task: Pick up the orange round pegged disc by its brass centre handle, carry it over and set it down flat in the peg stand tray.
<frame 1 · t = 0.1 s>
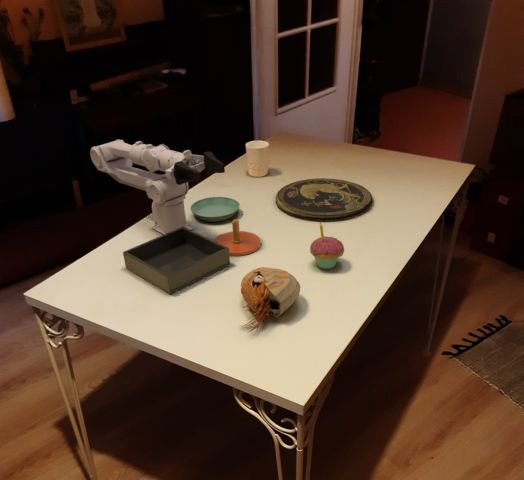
hand: (211, 172, 138), 22 cm above the table, tool horizontal, fingers open, 7 cm apart
orange round pegged disc: (236, 244, 154), on the table
white cup: (258, 174, 196), on the table
nautilus shell: (263, 311, 129), on the table
peg stand tray: (178, 266, 146), on the table
saucer: (215, 215, 170), on the table
decorative plate: (323, 201, 176), on the table
cupcake: (326, 264, 145), on the table
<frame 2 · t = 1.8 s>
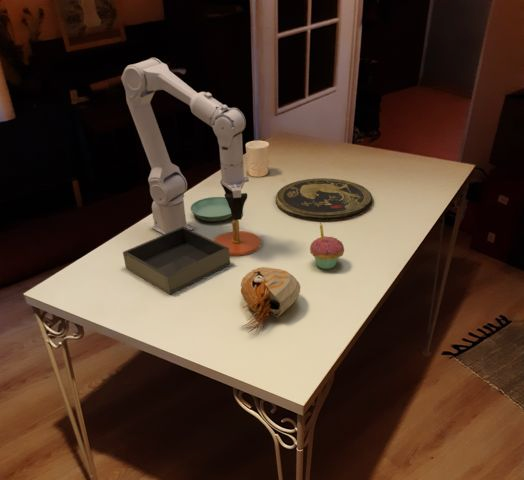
hand: (235, 213, 149), 9 cm above the table, tool pointing down, fingers open, 7 cm apart
nothing on the table moved.
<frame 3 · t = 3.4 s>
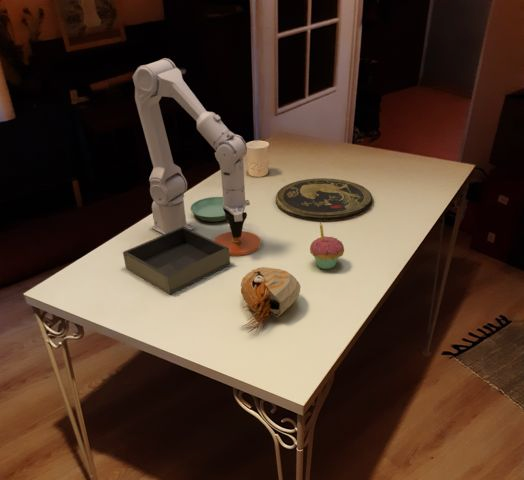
hand: (236, 234, 153), 3 cm above the table, tool pointing down, fingers closed on orange round pegged disc
orange round pegged disc: (236, 244, 154), on the table, touching gripper
everything else where it was.
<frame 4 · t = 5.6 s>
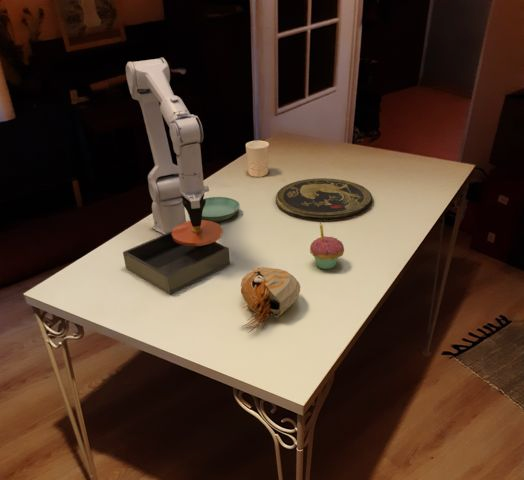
hand: (196, 223, 143), 10 cm above the table, tool pointing down, fingers closed on orange round pegged disc
orange round pegged disc: (197, 234, 145), point 7 cm above the table, touching gripper
everything else where it was.
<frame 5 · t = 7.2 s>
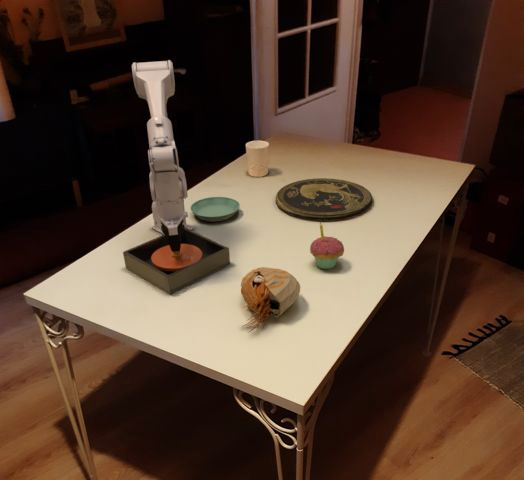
hand: (175, 248, 143), 5 cm above the table, tool pointing down, fingers closed on orange round pegged disc
orange round pegged disc: (177, 258, 144), point 2 cm above the table, touching gripper
everything else where it was.
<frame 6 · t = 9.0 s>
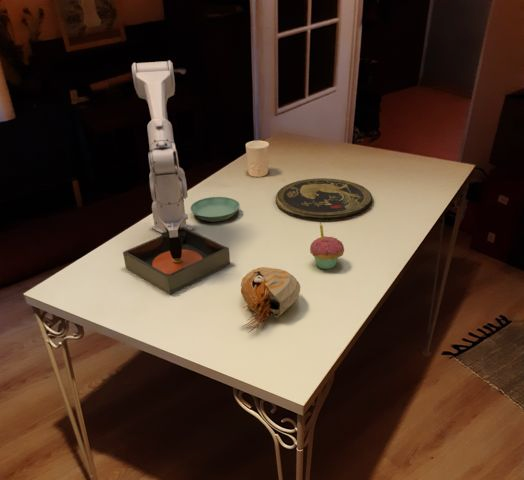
hand: (175, 250, 143), 5 cm above the table, tool pointing down, fingers open, 7 cm apart
orange round pegged disc: (178, 264, 145), point 1 cm above the table, touching peg stand tray
everything else where it was.
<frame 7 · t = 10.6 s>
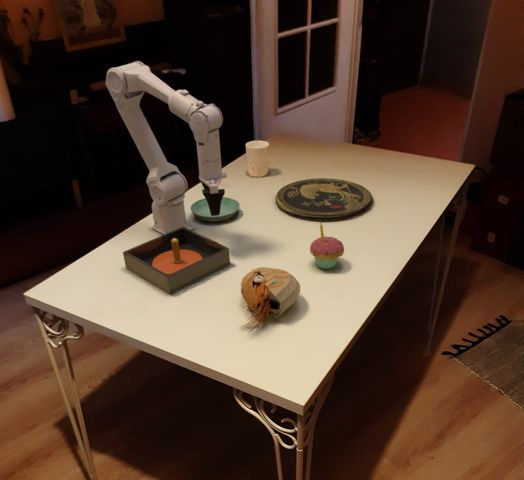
hand: (213, 209, 149), 10 cm above the table, tool pointing down, fingers open, 7 cm apart
nothing on the table moved.
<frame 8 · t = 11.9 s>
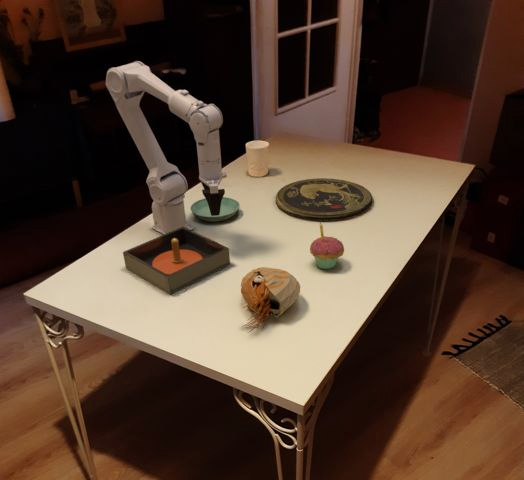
hand: (213, 209, 150), 10 cm above the table, tool pointing down, fingers open, 7 cm apart
nothing on the table moved.
at the end: orange round pegged disc inside the target area in the peg stand tray (0.0 cm from its centre), point 0.6 cm above the peg stand tray's base; orange round pegged disc tilted 0°; the gripper is holding nothing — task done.
